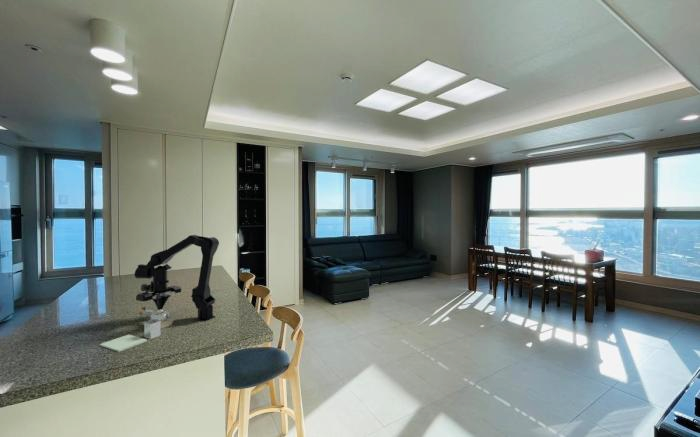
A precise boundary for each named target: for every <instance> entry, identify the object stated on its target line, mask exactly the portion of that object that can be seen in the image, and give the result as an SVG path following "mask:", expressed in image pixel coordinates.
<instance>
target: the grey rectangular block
mask: <svg viewBox="0 0 700 437" xmlns="http://www.w3.org/2000/svg"><path fill="white" fill-rule="evenodd" d="M150 320H151V319H150ZM143 329H144V338H145V339H150V340H151V339H154V338H157V337H160V336H161V333H162V332H161V330H162V328H161V321H159V320H155V319H154V320H151V321H149V320H147V321H144V328H143Z"/></svg>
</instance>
